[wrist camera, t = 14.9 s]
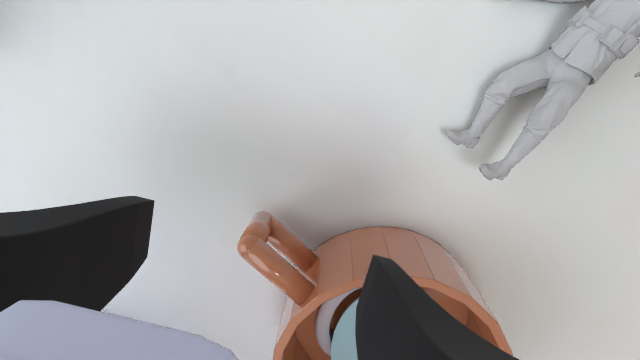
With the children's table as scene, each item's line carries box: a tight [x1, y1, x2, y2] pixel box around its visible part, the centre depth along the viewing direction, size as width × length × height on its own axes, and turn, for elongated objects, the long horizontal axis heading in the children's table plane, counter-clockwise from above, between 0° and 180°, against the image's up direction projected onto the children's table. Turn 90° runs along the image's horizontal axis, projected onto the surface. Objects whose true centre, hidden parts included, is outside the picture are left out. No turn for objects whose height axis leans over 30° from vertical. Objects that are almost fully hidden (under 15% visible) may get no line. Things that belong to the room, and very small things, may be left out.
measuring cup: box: [237, 211, 512, 360], centre depth 20 cm, size 15×11×6 cm
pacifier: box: [315, 287, 362, 360], centre depth 20 cm, size 7×6×6 cm
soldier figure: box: [446, 0, 640, 180], centre depth 17 cm, size 8×5×12 cm
